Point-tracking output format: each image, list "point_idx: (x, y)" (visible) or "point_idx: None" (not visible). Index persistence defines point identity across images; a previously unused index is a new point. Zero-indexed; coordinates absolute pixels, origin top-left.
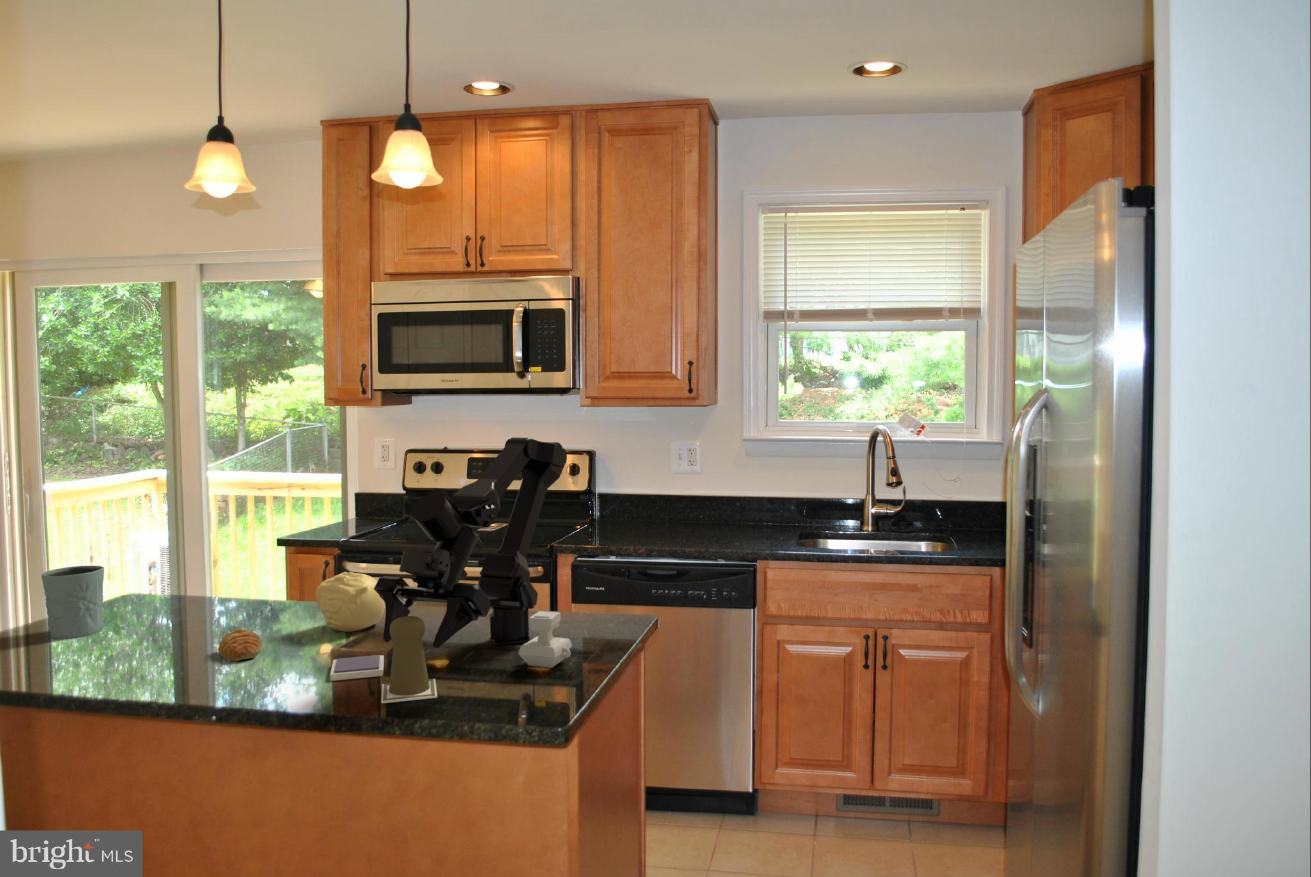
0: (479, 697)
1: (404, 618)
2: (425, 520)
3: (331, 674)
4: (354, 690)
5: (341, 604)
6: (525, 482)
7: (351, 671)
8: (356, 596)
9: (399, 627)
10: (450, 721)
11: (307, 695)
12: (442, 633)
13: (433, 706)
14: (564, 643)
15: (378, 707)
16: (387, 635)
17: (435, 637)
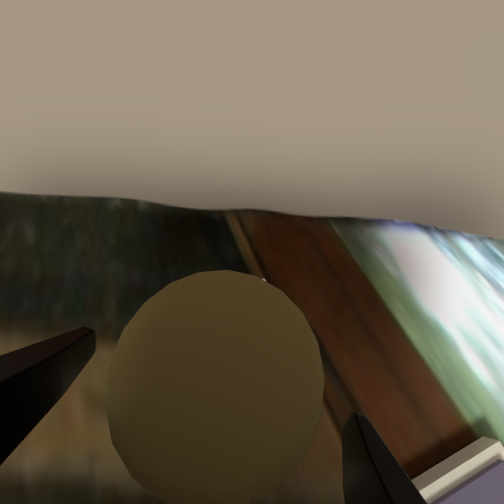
0: (38, 335)
1: (229, 355)
2: None
3: (497, 443)
4: (370, 361)
5: None
6: None
7: (460, 483)
8: None
9: (232, 271)
10: (96, 201)
11: (453, 318)
12: (11, 355)
13: (144, 271)
14: None
15: (260, 259)
16: (355, 434)
17: (65, 346)
